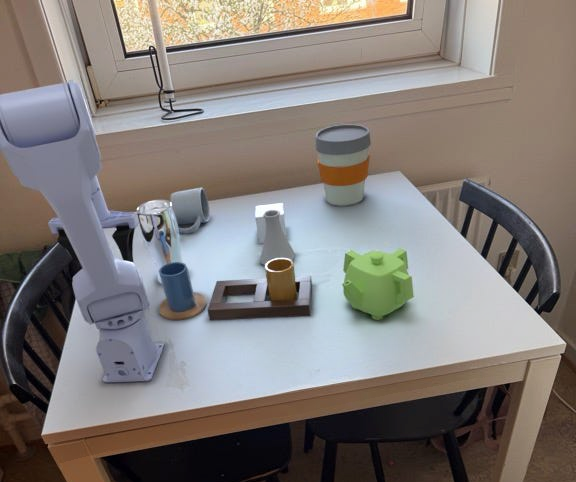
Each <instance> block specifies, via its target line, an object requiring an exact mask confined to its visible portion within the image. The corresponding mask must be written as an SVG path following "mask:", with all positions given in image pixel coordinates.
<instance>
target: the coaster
mask: <svg viewBox="0 0 576 482" xmlns="http://www.w3.org/2000/svg"><path fill="white" fill-rule="evenodd" d="M193 293H194V297H195V301H196V303H195V306H194V307H193V308H191V309H189V310H187V311H184V312H174V311H171V310H170V308H169V305H168V302H167V299H166V298H165V299H164V300H163V301H161V303H160V304H159V306H158V314H159V315H160V316H161V317H162V318H163V319H165V320H169V321H183V320H189V319H191V318H193V317H196V316H198V315H199V314H201V313H202V312H203V311H204V310H205V309H206V308H207V305H208V300H207V299H206V296H205V295H203V294H202V293H199V292H194V291H193Z"/></svg>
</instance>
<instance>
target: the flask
mask: <svg viewBox="0 0 576 482" xmlns="http://www.w3.org/2000/svg"><path fill="white" fill-rule="evenodd" d="M279 215H280V211H277V210H268V211H266V212H264V214H263V217H264V218H265V221H266V234H265V239H264V243H262V244H263V245H262V250H261V254H260V258H259V264H261V265H263V266H265V264H266V263H267V262H268V261H270V260H272V259H276V258H288V259H290V260H292V261H294V260H295V257H296V252H295V251H294V250H293V247H292V246H291V244H290V242H289V240H288V238H287V235H286V236H285V234H284V232H283V230H282V227H281V224H280V221H279Z"/></svg>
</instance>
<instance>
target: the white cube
mask: <svg viewBox="0 0 576 482" xmlns="http://www.w3.org/2000/svg"><path fill="white" fill-rule="evenodd" d="M254 210H255V211H254V212H255V213H254V214H255V215H254V218H255V225H256V232H257V238H258V244H264V239H265V234H266V221H265V218H264V217H263V214H264V212H266V211H268V210H277V211H280V215H279V221H280V224H281V227H282V230H283V232H284V234H285V236H286V237H287V227H286V218H285V209H284V203H283V202H278V203H271V204H270V203H269V204H262V205H255V209H254Z"/></svg>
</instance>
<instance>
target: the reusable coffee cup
mask: <svg viewBox="0 0 576 482" xmlns="http://www.w3.org/2000/svg"><path fill="white" fill-rule="evenodd" d="M314 141H315V144H314V145H315V147H314V149H315V150H316V152H317V161H316V162H317V167H318V172H319V177H320V181H321V182H322V184H323V190H324V195H325V200H326V202H327V203H328V204H330V205H333V206H339V207H340V206H341V207H342V206H351V205H356V204H358V203H359V202H361V201H362V200H363V199H364V194H365V185H366V179H367V178H368V175H369V166H370V154H369V149H370V146H371V144H372V142H371V134H370V129H369V128H368V127H367V126H364V125H362V124H356V123H355V124H353V123H348V124H347V123H346V124H336V125H331V126H327V127H324V128H322V129H319V131H317V132H316V133H315V140H314Z"/></svg>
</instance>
